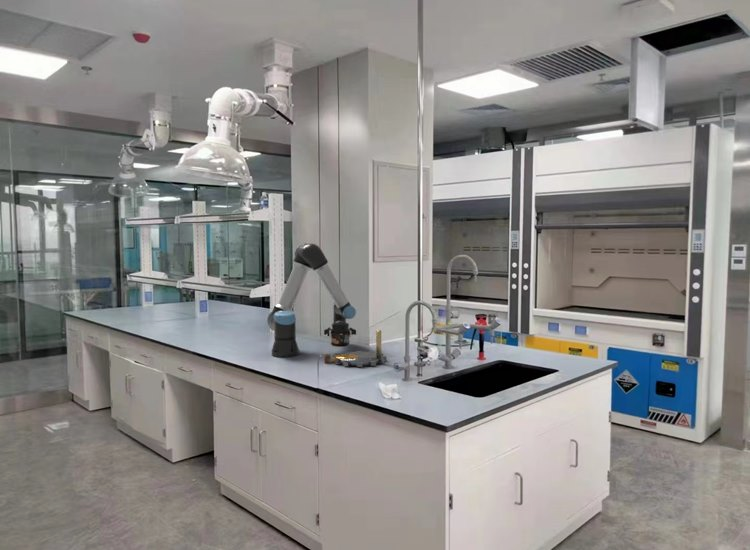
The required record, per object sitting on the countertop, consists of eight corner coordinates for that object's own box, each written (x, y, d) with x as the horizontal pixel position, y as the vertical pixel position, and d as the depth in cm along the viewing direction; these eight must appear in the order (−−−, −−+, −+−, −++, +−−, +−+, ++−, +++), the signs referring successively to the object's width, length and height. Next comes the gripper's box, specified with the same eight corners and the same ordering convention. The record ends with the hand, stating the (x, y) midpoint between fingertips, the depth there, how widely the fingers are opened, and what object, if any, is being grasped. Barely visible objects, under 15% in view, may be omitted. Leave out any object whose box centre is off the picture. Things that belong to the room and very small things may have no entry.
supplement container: (326, 344, 287) (326, 323, 287) (342, 342, 294) (342, 321, 293) (338, 347, 279) (338, 325, 279) (353, 345, 286) (353, 324, 285)
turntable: (321, 361, 266) (321, 330, 265) (356, 352, 288) (356, 323, 287) (363, 369, 249) (362, 336, 248) (397, 359, 271) (396, 328, 270)
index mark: (324, 363, 265) (324, 355, 265) (324, 361, 269) (324, 353, 269) (330, 363, 266) (330, 355, 265) (330, 361, 270) (330, 353, 269)
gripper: (359, 334, 305) (361, 341, 283) (320, 334, 303) (319, 341, 281) (359, 321, 305) (361, 327, 283) (320, 321, 303) (319, 327, 281)
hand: (340, 334), depth 282 cm, fingers closed on supplement container, 10 cm apart
